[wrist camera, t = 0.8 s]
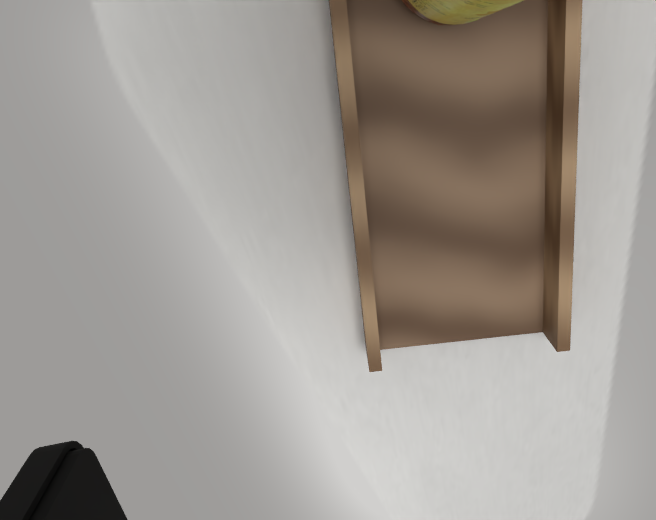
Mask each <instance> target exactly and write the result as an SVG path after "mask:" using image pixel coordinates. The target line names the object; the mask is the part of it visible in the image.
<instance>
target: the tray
mask: <svg viewBox="0 0 656 520" xmlns="http://www.w3.org/2000/svg"><path fill="white" fill-rule="evenodd" d="M329 6H330V16H331V25H332V34H333V44H334V53H335V62H336V72H337V81H338V90H339V100H340V109H341V118H342V128H343V137H344V146H345V156H346V165H347V175H348V184H349V193H350V203H351V212H352V221H353V231H354V240H355V249H356V259H357V268H358V277H359V287H360V296H361V305H362V315H363V324H364V333H365V343H366V351H367V358H368V365H369V372H374V371H382V364H381V354H380V350H382V349H391V348H400V347H409V346H418V345H428V344H437V343H446V342H455V341H464V340H474V339H483V338H492V337H501V336H510V335H520V334H529V333H538V332H543V333H544V334H545V336H546V337H547V339H548V340H549V341H550V343H551V344H552V345H553V347H554V348H555V350H556V351H557V352H560V351H569V350H570V335H571V307H572V278H573V250H574V221H575V193H576V165H577V136H578V108H579V79H580V51H581V23H582V0H524V1H522V2H520V3H517V4H514V5H512V6H510V7H507V8H505V9H502V10H500V11H498V12H495V13H493V14H490V15H488V16H485V17H483V18H480V19H478V20H475V21H472V22H469V23H465V24H457V25H437V24H434V23H431V22H428V21H426V20H425V19H422V18H421V17H419V16H418V15H416V14H415V13H413V12H412V11H411V10H410V9H408V8H407V7H406V6H405V4H404V3H403V1H402V0H329Z"/></svg>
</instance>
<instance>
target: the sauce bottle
mask: <svg viewBox="0 0 656 520" xmlns="http://www.w3.org/2000/svg"><path fill="white" fill-rule="evenodd" d="M402 1H403V3H404V4H405V6H406V7H407V8H408V9H410V10H411V11H412V12H413V13H415V14H416V15H418V16H419V17H421V18H422V19H425V20H426V21H428V22H431V23H434V24H437V25H457V24H465V23H469V22H472V21H475V20H478V19H480V18H483V17H485V16H488V15H490V14H493V13H495V12H498V11H500V10H502V9H505V8H507V7H510V6H512V5H514V4H517V3H520V2H522V1H524V0H402Z"/></svg>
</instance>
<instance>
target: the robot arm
mask: <svg viewBox="0 0 656 520" xmlns="http://www.w3.org/2000/svg"><path fill="white" fill-rule="evenodd" d="M0 520H127V518H126V516H125V514H124V512H123V510H122V508H121V506H120V504H119V502H118V500H117V498H116V495H115V494H114V491H113V489H112V488H111V485H110V483H109V481H108V479H107V477H106V475H105V473H104V471H103V469H102V467H101V465H100V463H99V461H98V459H97V457H96V455H95V453H94V452H93V451H92V450H91V449H90V448H83V447H82V445H81V444H79V443H78V442H77V441H69V442H64V443H59V444H54V445H49V446H44V447H39V448H37V449H35V450H34V451H33V452H32V453H31V454H30V456H29V457H28V459H27V460H26V462H25V463H24V465H23V466H22V468H21V470H20V471H19V473H18V474H17V476H16V477H15V479H14V480H13V482H12V483H11V485H10V487H9V488H8V490H7V491H6V493H5V494H4V496H3V497H2V499H1V500H0Z"/></svg>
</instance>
